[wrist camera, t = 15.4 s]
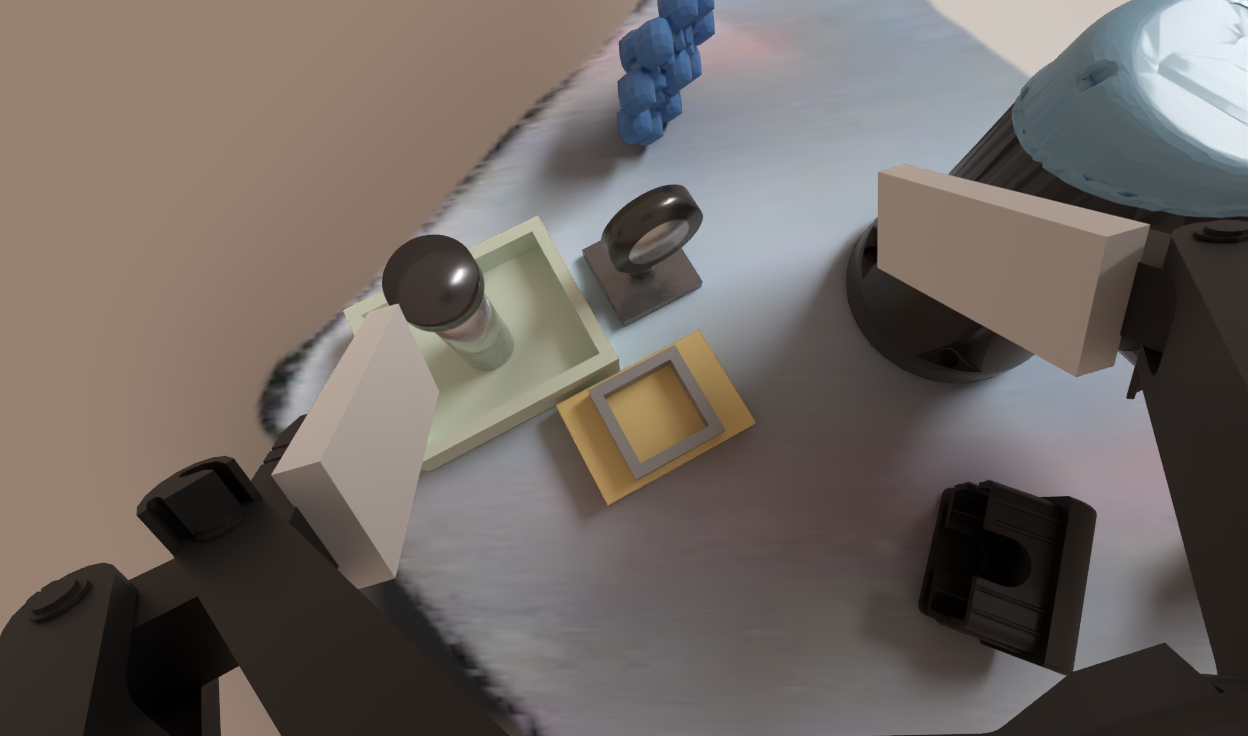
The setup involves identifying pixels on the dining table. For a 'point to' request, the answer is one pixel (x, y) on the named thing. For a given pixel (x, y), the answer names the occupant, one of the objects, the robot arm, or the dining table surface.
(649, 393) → the block
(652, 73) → the grapes
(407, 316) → the pin
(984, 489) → the end cap
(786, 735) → the dining table surface
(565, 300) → the tray
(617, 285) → the post
